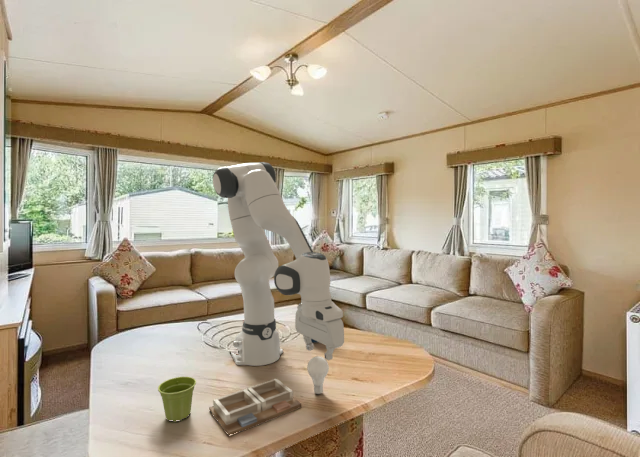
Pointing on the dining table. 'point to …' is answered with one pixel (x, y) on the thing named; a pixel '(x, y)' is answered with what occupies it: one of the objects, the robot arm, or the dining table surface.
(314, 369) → the lightbulb
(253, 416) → the socket board
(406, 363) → the dining table surface
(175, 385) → the plant pot
